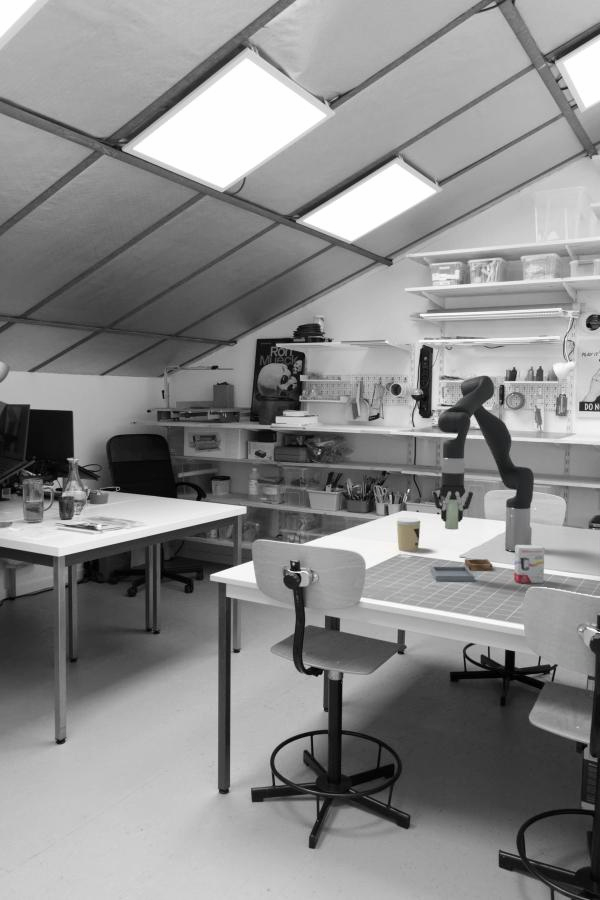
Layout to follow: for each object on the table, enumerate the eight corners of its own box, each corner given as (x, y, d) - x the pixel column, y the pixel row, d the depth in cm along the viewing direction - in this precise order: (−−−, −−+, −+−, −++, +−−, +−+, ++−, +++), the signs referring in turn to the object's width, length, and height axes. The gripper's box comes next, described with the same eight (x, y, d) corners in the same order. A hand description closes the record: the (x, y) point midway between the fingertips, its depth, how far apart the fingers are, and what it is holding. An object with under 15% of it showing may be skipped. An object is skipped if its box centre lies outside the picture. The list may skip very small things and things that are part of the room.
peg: (456, 527, 243) (457, 498, 242) (459, 529, 238) (459, 500, 238) (444, 527, 243) (444, 498, 242) (446, 529, 239) (446, 500, 238)
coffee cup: (419, 552, 277) (420, 522, 276) (395, 551, 279) (395, 521, 278) (420, 547, 286) (420, 518, 285) (397, 546, 288) (397, 517, 287)
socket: (487, 564, 258) (487, 559, 258) (492, 570, 250) (492, 564, 249) (464, 564, 258) (464, 559, 258) (469, 570, 250) (469, 564, 250)
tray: (466, 571, 248) (466, 566, 248) (474, 581, 235) (474, 576, 235) (430, 571, 248) (430, 566, 248) (435, 581, 236) (435, 575, 236)
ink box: (517, 583, 233) (518, 548, 232) (513, 579, 238) (514, 544, 237) (544, 583, 233) (545, 548, 232) (539, 579, 238) (540, 544, 237)
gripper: (472, 470, 243) (470, 519, 244) (430, 469, 243) (429, 519, 245) (476, 472, 235) (474, 523, 236) (433, 472, 236) (431, 522, 237)
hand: (451, 521), depth 241 cm, fingers closed on peg, 4 cm apart
